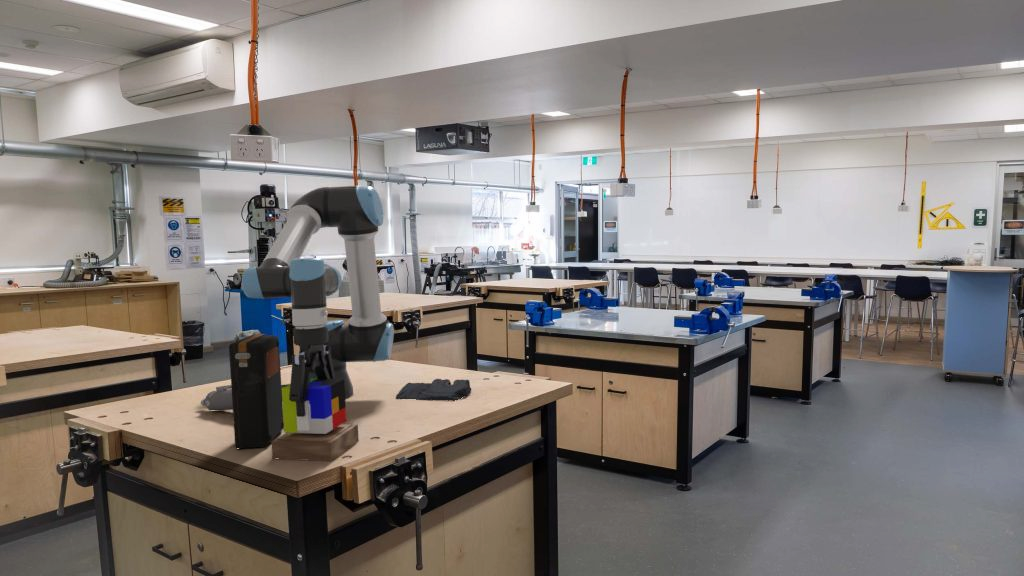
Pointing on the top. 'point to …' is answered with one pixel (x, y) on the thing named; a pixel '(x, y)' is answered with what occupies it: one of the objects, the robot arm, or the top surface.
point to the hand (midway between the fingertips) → (315, 423)
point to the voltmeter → (256, 390)
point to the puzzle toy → (318, 406)
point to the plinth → (315, 444)
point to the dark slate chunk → (435, 390)
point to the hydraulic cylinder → (221, 398)
